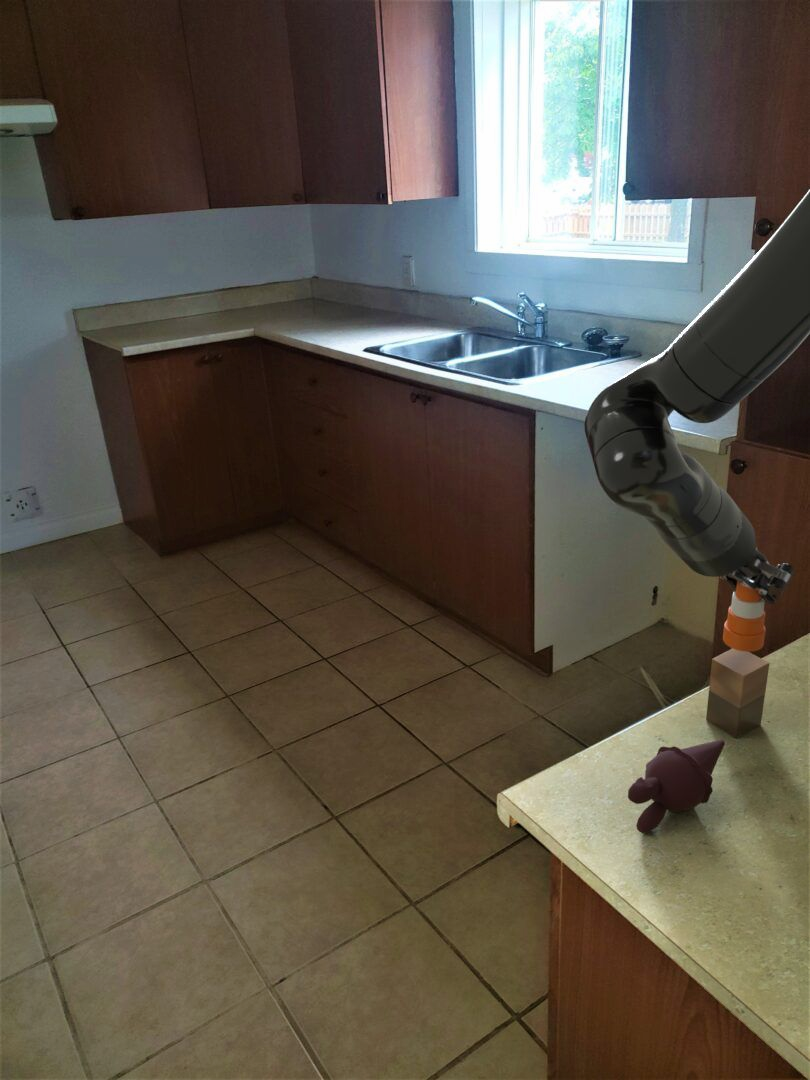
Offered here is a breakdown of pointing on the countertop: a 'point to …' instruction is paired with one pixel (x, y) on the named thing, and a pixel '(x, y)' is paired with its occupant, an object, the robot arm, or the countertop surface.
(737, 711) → the block bottom
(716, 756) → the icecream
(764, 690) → the block top
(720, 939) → the countertop surface
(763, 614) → the cone
